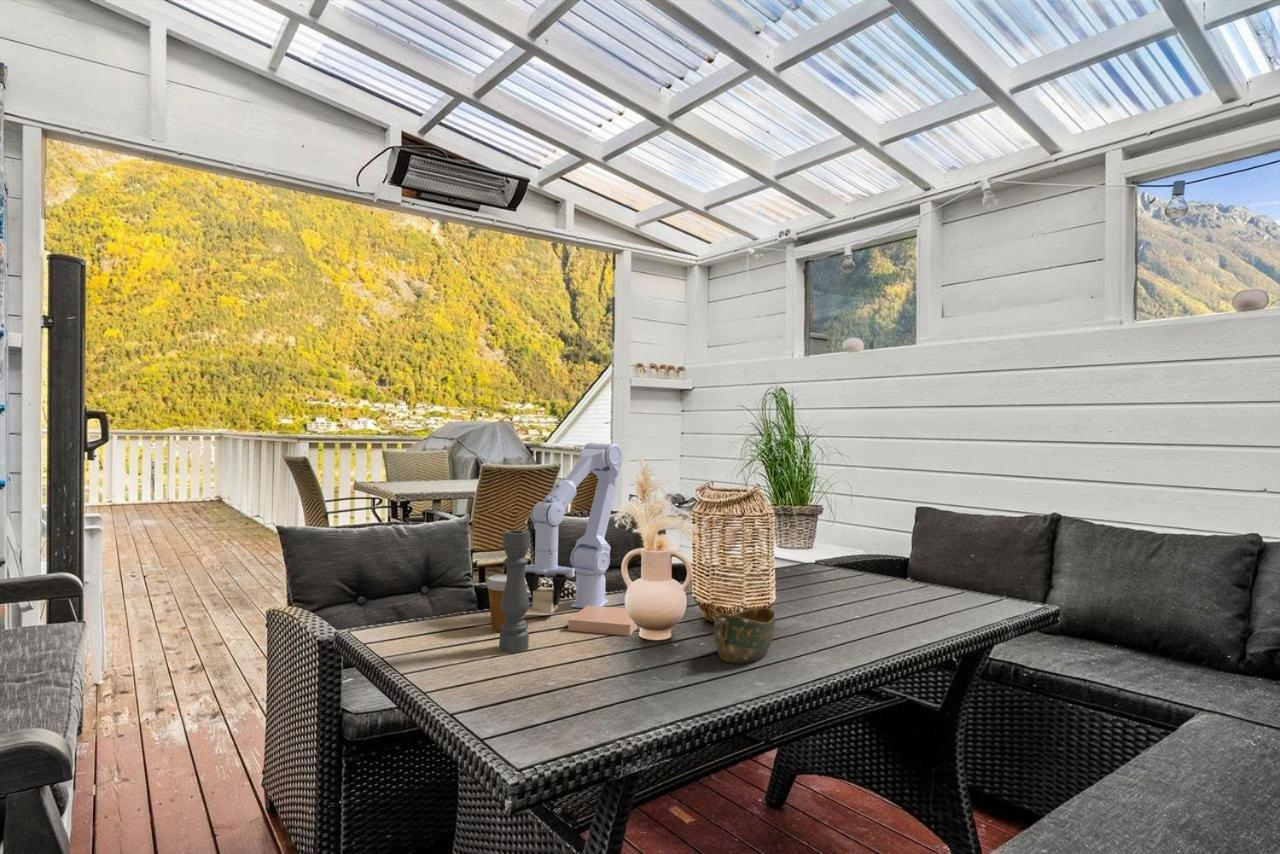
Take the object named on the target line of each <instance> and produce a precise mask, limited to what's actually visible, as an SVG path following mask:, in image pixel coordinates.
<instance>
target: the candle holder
mask: <svg viewBox="0 0 1280 854" xmlns="http://www.w3.org/2000/svg"><path fill="white" fill-rule="evenodd" d="M530 542H531V531H528V530H522V529H521V530H517V529H515V530H505V531H503V533H502V547H503V548H504V550H503V551H504V553H505V555H506V558H505V559H504V560H503V564H504V565H505V566H506V574H507V579H506V584H505V588H504V592H503V596H502V600H501V605H500V607H501V610H502V612H503V613H504V615H505V616H504V618H505V619H506V620H505V621H504V623H503V624H502V625H501V629H502V630H503V631H501V632H499V641H498V643H499V645H498V646H499V648H498V649H499V650H500V651H501V652H503V653H509V654H510V653H512V654H513V653H514V654H515V653H516V654H517V653H522V652H525V651H528V649H529V643H530V642H529V639H530V638H529V637H530V633H529V631H528V627H529V626H528V624H527V622H526V620H525V618H526V613H527V612H528V611H529V608H530V598H529V594H528V591H527V585H526V584H525V575H526V573H525V566H526V565H528V563H529V559H528V558H526V556H527V553H528V552H529V548H530V545H531V543H530Z"/></svg>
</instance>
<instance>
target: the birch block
mask: <svg viewBox="0 0 1280 854" xmlns="http://www.w3.org/2000/svg"><path fill="white" fill-rule="evenodd" d="M553 598H554V587H541V586H540V587H539V586H538V589H536V590H534V591H533V603H532V612H536V613H549V614H550V613H551V614H552V613H553V612H555V611H556V610H558V609H559V604H557V605H554V603H553Z"/></svg>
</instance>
